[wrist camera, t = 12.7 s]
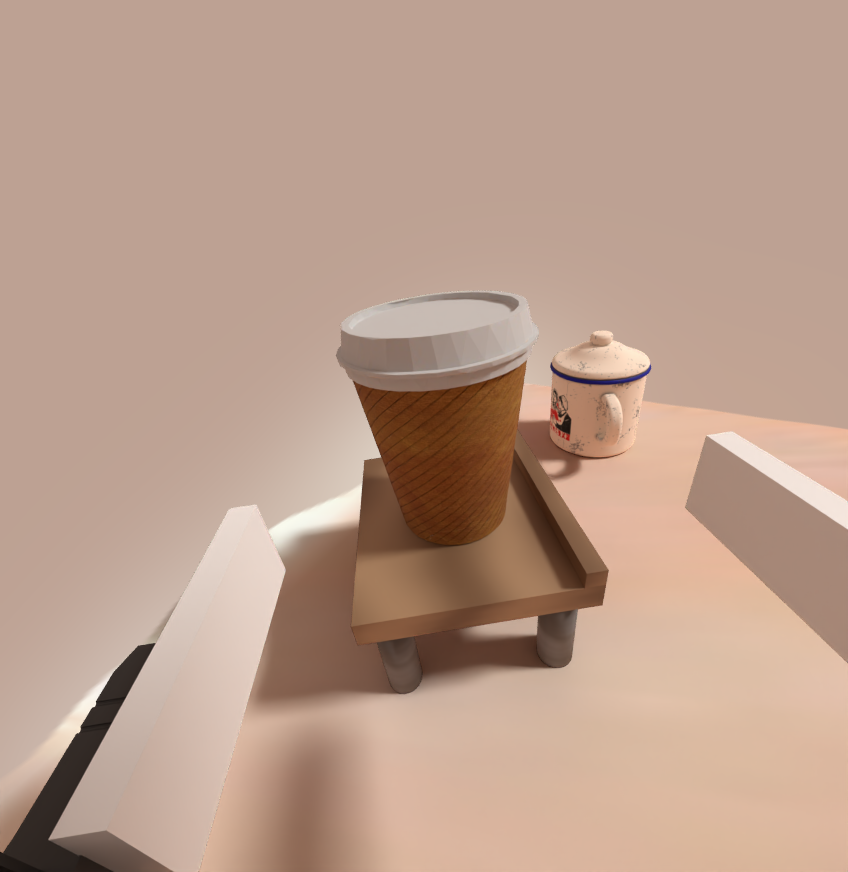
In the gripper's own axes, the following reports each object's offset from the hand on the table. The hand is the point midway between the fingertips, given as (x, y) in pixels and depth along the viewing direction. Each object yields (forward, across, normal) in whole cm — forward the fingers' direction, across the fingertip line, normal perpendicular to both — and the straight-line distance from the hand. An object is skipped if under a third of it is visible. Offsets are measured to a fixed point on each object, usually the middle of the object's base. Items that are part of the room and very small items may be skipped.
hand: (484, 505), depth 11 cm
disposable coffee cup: (+9, 0, +8) cm, 12 cm away
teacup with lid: (+24, -17, +16) cm, 34 cm away
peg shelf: (+9, 0, +16) cm, 18 cm away
